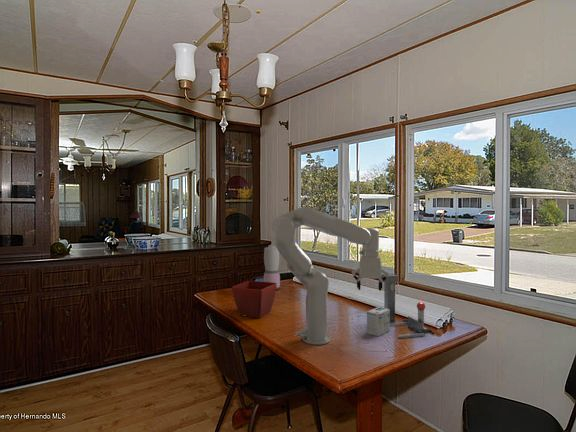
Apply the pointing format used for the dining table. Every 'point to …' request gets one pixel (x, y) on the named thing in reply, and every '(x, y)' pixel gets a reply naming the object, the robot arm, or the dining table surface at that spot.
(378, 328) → the light bulb box
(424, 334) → the lever track
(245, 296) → the plant pot
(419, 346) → the dining table surface
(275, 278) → the blender
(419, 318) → the lever
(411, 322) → the press frame
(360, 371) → the dining table surface
